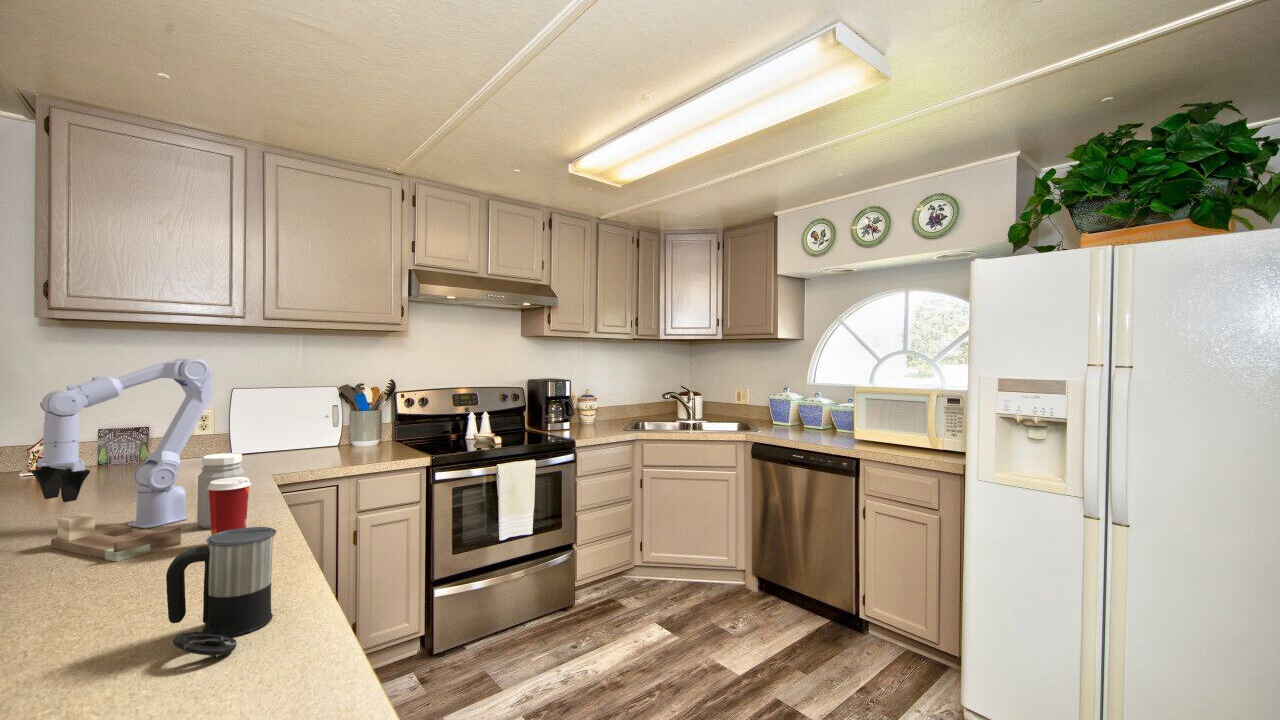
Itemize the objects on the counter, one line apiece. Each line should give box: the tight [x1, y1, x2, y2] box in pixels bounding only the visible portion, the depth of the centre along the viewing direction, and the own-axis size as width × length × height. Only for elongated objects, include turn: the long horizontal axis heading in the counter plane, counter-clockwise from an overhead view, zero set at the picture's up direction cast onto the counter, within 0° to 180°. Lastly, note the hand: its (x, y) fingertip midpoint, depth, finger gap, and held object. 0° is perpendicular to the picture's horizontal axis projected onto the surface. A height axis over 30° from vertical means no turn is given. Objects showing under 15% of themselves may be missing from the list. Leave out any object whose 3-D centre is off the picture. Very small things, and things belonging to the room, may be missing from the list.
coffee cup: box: [207, 476, 252, 536], centre depth 126 cm, size 8×8×15 cm
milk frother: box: [165, 526, 277, 659], centre depth 84 cm, size 14×16×15 cm
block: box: [57, 513, 96, 541], centre depth 124 cm, size 4×4×4 cm
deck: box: [50, 523, 182, 562], centre depth 124 cm, size 12×24×4 cm, turn 71°
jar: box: [196, 452, 246, 530], centre depth 142 cm, size 10×10×18 cm
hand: (60, 499), depth 127 cm, fingers open, 7 cm apart
